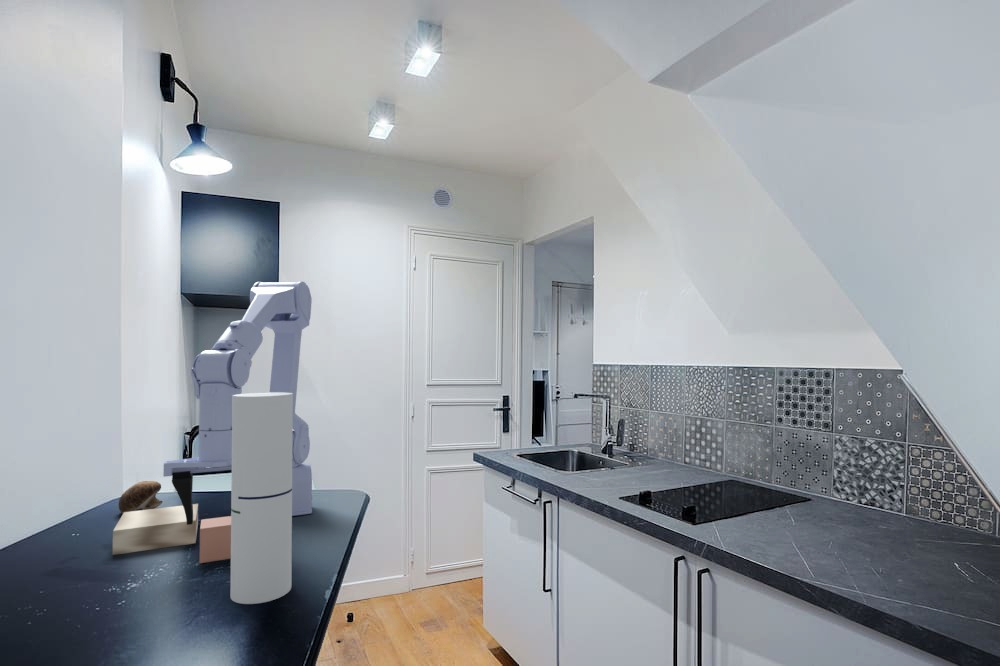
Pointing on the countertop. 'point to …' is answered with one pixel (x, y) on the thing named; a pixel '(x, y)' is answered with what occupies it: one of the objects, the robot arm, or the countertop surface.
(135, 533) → the birch block
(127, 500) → the mushroom
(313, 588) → the countertop surface
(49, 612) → the countertop surface
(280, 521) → the cylindrical container
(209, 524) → the terracotta cube
